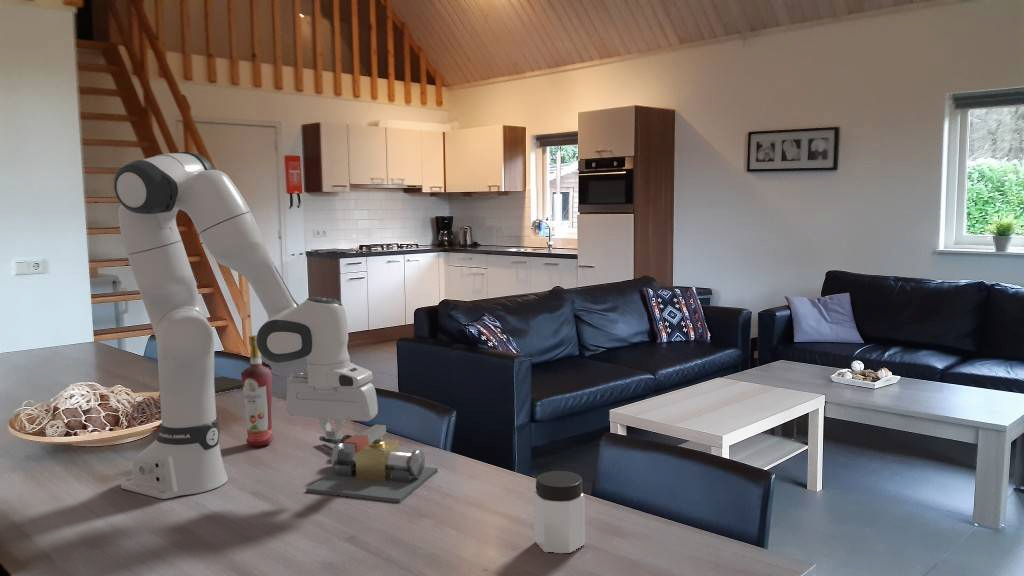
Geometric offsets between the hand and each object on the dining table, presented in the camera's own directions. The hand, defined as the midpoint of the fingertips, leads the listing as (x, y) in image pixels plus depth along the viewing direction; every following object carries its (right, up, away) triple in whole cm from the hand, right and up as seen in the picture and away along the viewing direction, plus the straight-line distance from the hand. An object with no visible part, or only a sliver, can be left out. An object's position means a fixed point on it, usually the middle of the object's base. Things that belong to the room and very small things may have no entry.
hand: (333, 438), depth 163 cm
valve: (0, -9, +26) cm, 27 cm away
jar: (+46, -14, -26) cm, 55 cm away
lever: (+6, -3, +3) cm, 7 cm away
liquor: (-27, -8, +35) cm, 44 cm away
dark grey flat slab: (-63, -3, +93) cm, 113 cm away
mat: (+7, -11, +7) cm, 15 cm away
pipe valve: (+8, -11, +9) cm, 16 cm away
